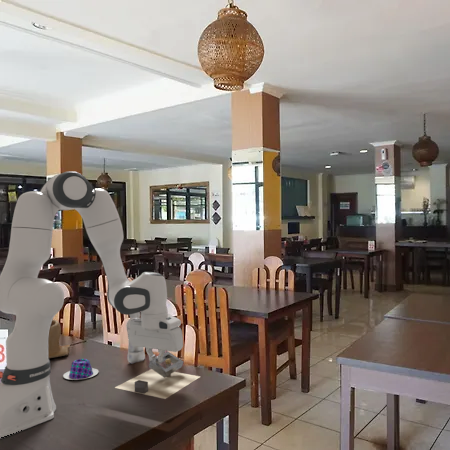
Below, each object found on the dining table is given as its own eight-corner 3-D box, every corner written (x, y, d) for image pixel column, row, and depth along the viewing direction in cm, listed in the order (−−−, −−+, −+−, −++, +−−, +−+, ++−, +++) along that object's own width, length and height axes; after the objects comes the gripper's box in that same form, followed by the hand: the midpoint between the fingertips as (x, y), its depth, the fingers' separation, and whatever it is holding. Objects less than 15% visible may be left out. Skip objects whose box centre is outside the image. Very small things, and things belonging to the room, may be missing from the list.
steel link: (164, 377, 144) (166, 372, 143) (148, 366, 147) (150, 361, 146) (181, 366, 153) (183, 361, 152) (166, 356, 156) (168, 351, 155)
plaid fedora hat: (105, 372, 161) (105, 357, 160) (82, 383, 150) (82, 368, 149) (79, 368, 165) (79, 354, 165) (55, 379, 154) (55, 364, 154)
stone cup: (31, 365, 169) (30, 326, 169) (30, 356, 180) (29, 319, 180) (73, 359, 176) (71, 321, 175) (70, 350, 186) (69, 315, 186)
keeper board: (165, 403, 131) (164, 378, 131) (114, 392, 141) (113, 368, 141) (200, 381, 149) (200, 358, 149) (153, 372, 158) (152, 351, 158)
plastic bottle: (141, 366, 165) (139, 313, 164) (124, 365, 166) (122, 312, 166) (147, 360, 171) (146, 309, 171) (131, 360, 172) (130, 309, 172)
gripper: (124, 319, 150) (125, 359, 151) (174, 325, 140) (175, 368, 141) (136, 315, 156) (137, 354, 156) (185, 320, 146) (186, 362, 146)
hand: (155, 361), depth 148 cm, fingers closed on steel link, 1 cm apart
